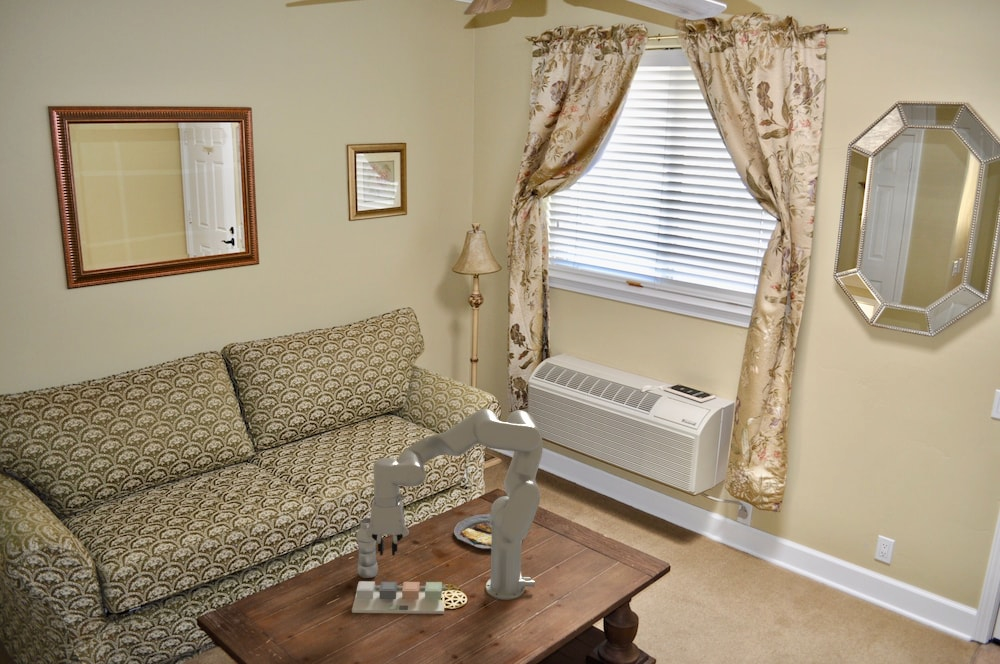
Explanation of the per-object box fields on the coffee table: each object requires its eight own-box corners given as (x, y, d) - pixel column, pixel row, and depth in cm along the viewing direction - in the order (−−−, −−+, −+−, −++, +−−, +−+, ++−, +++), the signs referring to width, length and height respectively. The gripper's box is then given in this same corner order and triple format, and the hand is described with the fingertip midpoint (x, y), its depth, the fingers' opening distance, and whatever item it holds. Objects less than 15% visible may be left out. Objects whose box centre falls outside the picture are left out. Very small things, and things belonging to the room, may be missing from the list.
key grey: (375, 589, 263) (374, 581, 262) (373, 599, 258) (372, 590, 257) (359, 589, 262) (358, 581, 262) (356, 598, 258) (356, 590, 257)
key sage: (442, 590, 263) (442, 581, 262) (441, 599, 258) (441, 591, 257) (426, 590, 263) (426, 581, 262) (425, 599, 258) (425, 590, 257)
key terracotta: (419, 590, 263) (419, 581, 262) (418, 599, 258) (418, 590, 257) (403, 590, 263) (403, 581, 262) (402, 599, 258) (402, 590, 257)
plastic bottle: (374, 582, 271) (373, 526, 265) (354, 579, 272) (352, 524, 267) (381, 571, 277) (379, 517, 272) (361, 568, 278) (360, 514, 273)
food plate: (536, 533, 303) (536, 524, 302) (496, 560, 285) (496, 551, 284) (483, 513, 318) (483, 505, 317) (442, 538, 300) (442, 529, 299)
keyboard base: (445, 591, 267) (445, 585, 266) (443, 613, 255) (443, 608, 255) (357, 590, 266) (357, 584, 266) (351, 612, 255) (351, 607, 254)
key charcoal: (397, 590, 263) (397, 581, 262) (395, 599, 258) (395, 590, 257) (381, 589, 263) (381, 581, 262) (379, 599, 258) (379, 590, 257)
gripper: (415, 493, 255) (415, 547, 260) (361, 492, 255) (362, 546, 260) (413, 505, 248) (413, 560, 253) (357, 504, 247) (359, 559, 252)
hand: (387, 552), depth 256 cm, fingers open, 3 cm apart
